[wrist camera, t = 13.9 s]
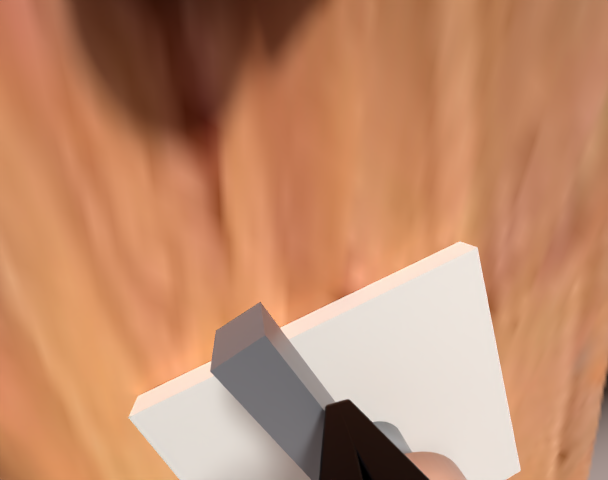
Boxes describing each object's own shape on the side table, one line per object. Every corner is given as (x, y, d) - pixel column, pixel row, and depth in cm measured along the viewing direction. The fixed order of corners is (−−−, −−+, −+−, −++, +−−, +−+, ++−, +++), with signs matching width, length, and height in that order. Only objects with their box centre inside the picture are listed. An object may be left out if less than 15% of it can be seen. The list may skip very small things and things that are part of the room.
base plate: (283, 582, 19) (294, 684, 15) (137, 396, 13) (97, 485, 10) (505, 454, 21) (564, 517, 17) (459, 241, 15) (532, 266, 11)
